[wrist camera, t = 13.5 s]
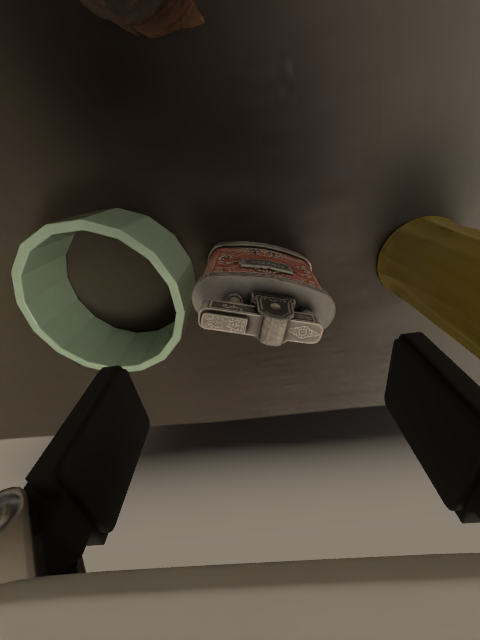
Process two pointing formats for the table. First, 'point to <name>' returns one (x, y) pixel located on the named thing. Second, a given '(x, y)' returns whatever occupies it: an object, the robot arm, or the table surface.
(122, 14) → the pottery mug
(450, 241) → the vase
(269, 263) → the lighter
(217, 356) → the table surface
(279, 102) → the table surface
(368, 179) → the table surface
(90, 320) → the pale green hollow ring
